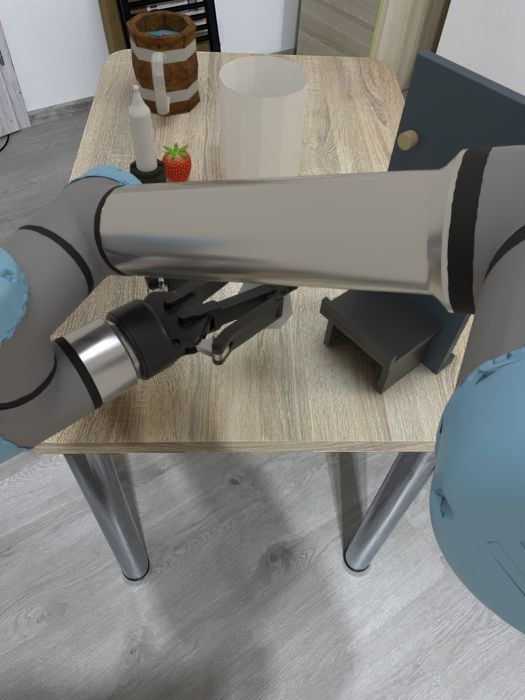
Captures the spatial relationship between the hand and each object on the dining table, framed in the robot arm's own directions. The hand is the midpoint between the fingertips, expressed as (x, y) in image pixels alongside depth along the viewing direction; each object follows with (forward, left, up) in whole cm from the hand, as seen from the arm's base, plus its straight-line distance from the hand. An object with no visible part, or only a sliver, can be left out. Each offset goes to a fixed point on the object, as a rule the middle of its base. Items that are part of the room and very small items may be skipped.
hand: (301, 252), depth 62 cm
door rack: (-11, -2, -17) cm, 21 cm away
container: (+15, -38, -17) cm, 45 cm away
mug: (+40, -55, -17) cm, 70 cm away
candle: (+26, -15, -17) cm, 35 cm away
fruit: (+28, -30, -17) cm, 45 cm away
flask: (+3, +4, -6) cm, 8 cm away
